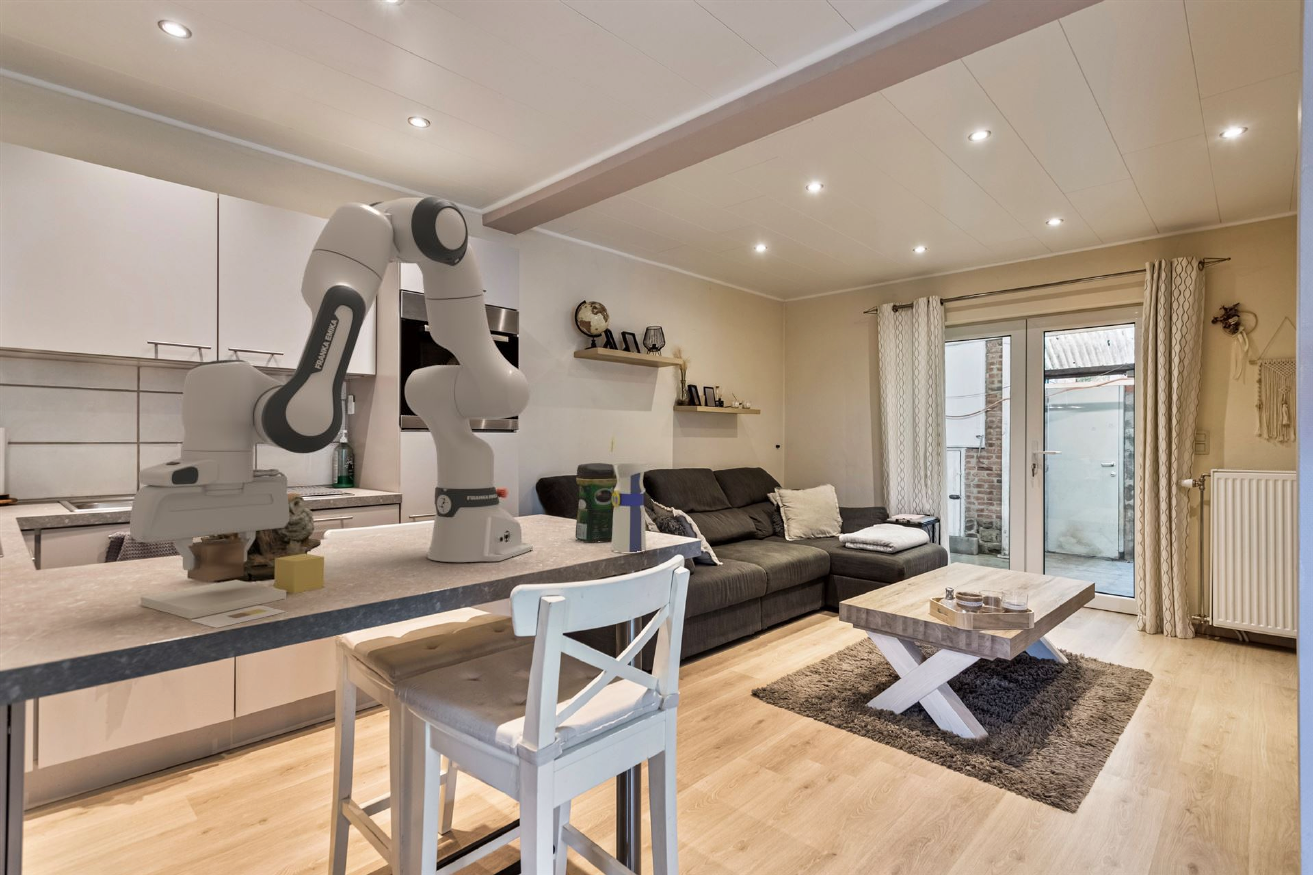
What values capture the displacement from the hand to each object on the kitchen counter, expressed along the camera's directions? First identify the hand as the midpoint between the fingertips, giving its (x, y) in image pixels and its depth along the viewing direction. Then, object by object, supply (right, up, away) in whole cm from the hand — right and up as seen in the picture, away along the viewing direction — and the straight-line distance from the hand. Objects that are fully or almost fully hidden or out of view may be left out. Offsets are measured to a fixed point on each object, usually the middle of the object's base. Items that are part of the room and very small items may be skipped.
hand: (215, 565), depth 95 cm
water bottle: (+58, -7, +49) cm, 76 cm away
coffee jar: (+49, -6, +63) cm, 80 cm away
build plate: (0, -5, 0) cm, 5 cm away
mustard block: (+7, -6, +10) cm, 13 cm away
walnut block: (0, -2, 0) cm, 2 cm away
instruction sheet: (+8, -6, -7) cm, 12 cm away
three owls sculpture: (-5, -6, +19) cm, 21 cm away
